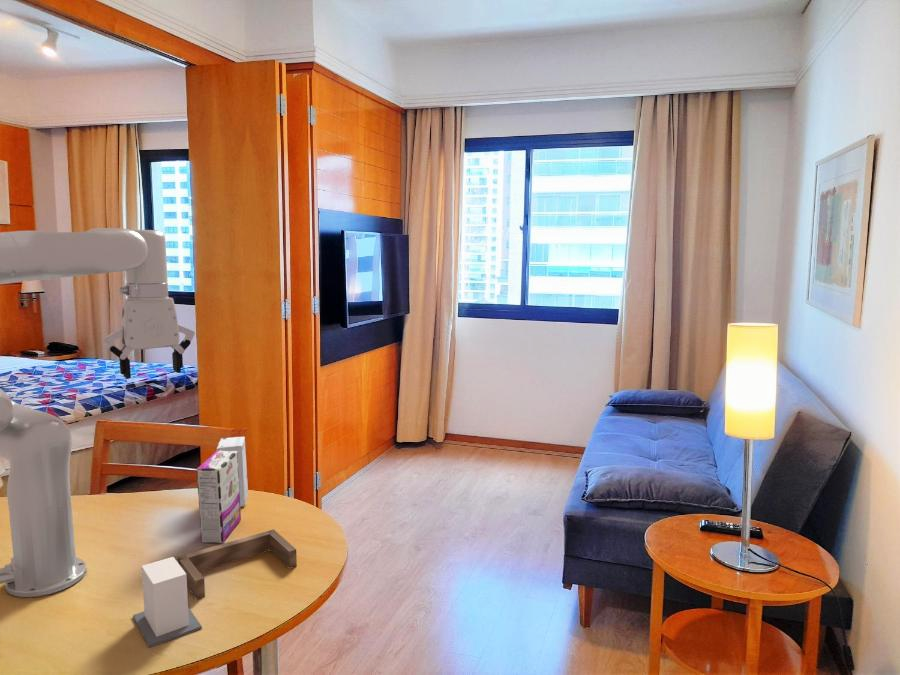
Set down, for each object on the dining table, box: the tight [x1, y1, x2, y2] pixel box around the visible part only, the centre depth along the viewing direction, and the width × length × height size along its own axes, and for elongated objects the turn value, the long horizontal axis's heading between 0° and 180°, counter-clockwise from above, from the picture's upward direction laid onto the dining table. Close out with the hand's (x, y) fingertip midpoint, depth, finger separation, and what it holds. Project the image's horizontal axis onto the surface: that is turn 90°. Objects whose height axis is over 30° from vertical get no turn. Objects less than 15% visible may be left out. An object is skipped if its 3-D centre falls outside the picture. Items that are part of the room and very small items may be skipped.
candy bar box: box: [196, 450, 242, 544], centre depth 137 cm, size 11×5×16 cm, turn 179°
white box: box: [141, 556, 189, 637], centre depth 105 cm, size 5×7×9 cm
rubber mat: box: [132, 606, 203, 648], centre depth 106 cm, size 8×10×1 cm
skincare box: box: [216, 436, 249, 508], centre depth 153 cm, size 8×6×15 cm
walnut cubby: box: [176, 529, 298, 600], centre depth 122 cm, size 19×10×4 cm, turn 129°
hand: (152, 374), depth 132 cm, fingers open, 9 cm apart
